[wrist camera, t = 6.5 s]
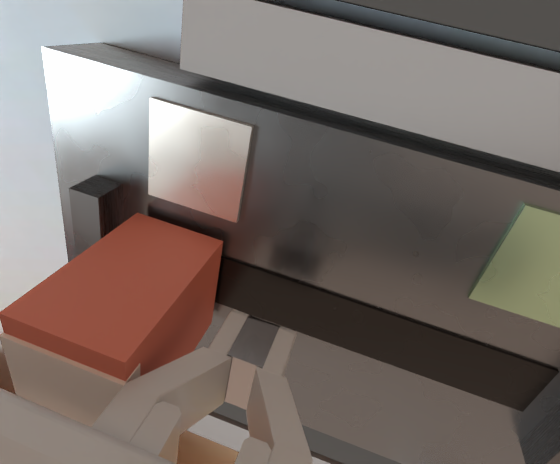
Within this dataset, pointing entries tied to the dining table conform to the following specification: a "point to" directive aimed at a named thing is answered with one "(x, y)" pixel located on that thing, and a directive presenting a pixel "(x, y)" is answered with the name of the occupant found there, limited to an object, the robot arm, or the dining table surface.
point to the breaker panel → (336, 249)
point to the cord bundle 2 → (393, 67)
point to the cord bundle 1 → (324, 449)
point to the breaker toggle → (111, 316)
